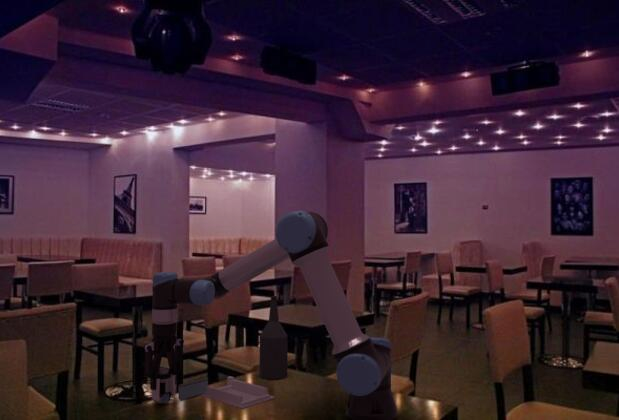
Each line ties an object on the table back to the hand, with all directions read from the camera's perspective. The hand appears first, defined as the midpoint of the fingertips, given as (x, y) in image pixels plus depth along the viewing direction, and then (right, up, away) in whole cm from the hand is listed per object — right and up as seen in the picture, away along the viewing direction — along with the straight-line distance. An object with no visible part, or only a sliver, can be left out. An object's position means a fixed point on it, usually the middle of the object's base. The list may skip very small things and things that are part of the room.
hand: (163, 397), depth 176 cm
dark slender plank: (+7, -2, +9) cm, 12 cm away
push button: (0, -2, +1) cm, 2 cm away
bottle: (+32, -4, +34) cm, 47 cm away
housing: (+21, -3, +10) cm, 24 cm away
